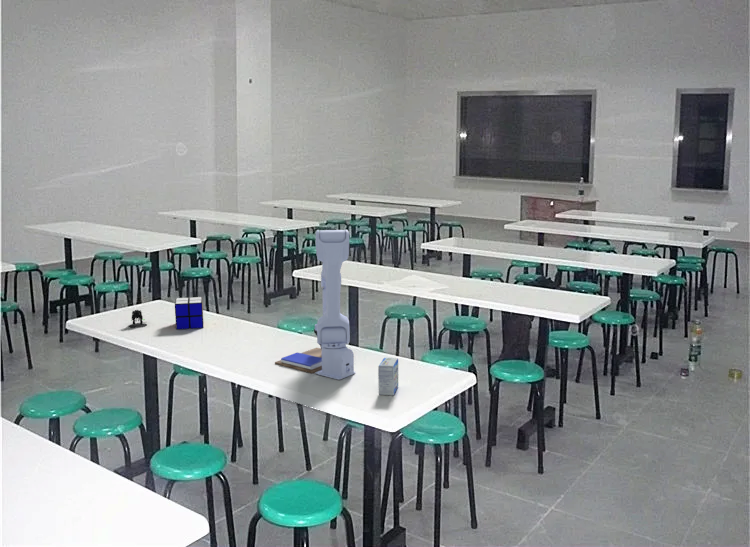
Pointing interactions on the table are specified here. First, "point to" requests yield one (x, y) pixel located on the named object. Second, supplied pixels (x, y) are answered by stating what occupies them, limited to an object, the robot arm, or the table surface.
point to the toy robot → (136, 315)
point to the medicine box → (388, 376)
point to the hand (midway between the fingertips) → (331, 347)
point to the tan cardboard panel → (313, 352)
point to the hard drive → (302, 360)
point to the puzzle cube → (189, 313)
